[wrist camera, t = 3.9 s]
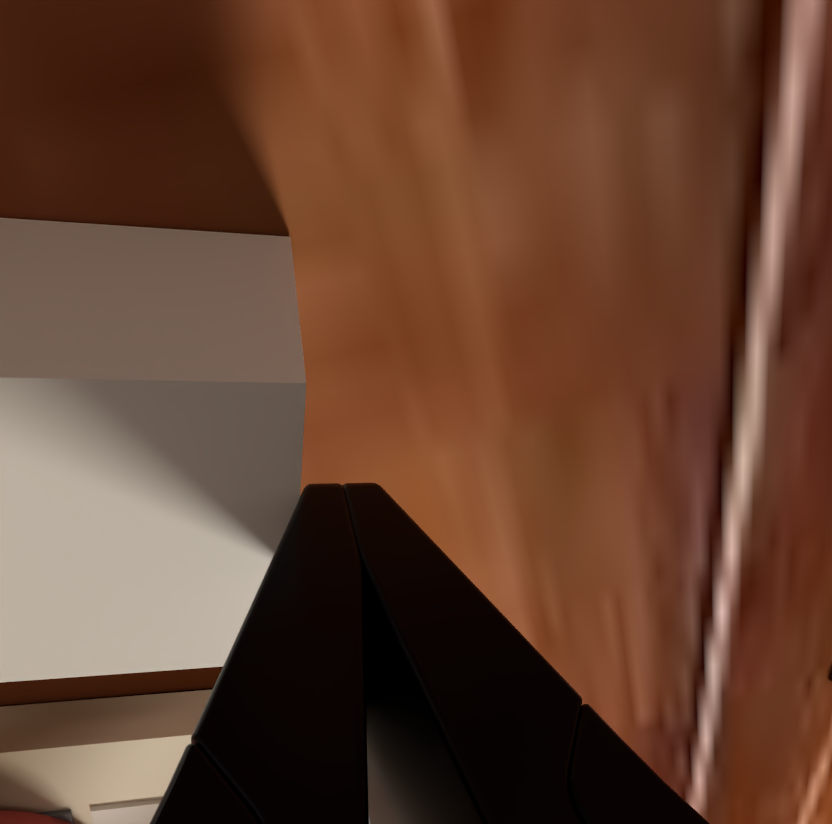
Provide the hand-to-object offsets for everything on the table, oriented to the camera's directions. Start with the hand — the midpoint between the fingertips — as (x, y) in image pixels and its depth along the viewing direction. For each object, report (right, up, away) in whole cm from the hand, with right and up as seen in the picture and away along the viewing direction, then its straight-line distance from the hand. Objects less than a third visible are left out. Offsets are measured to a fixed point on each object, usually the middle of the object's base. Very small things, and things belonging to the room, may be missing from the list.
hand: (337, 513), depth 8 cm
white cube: (-3, +2, +3) cm, 4 cm away
